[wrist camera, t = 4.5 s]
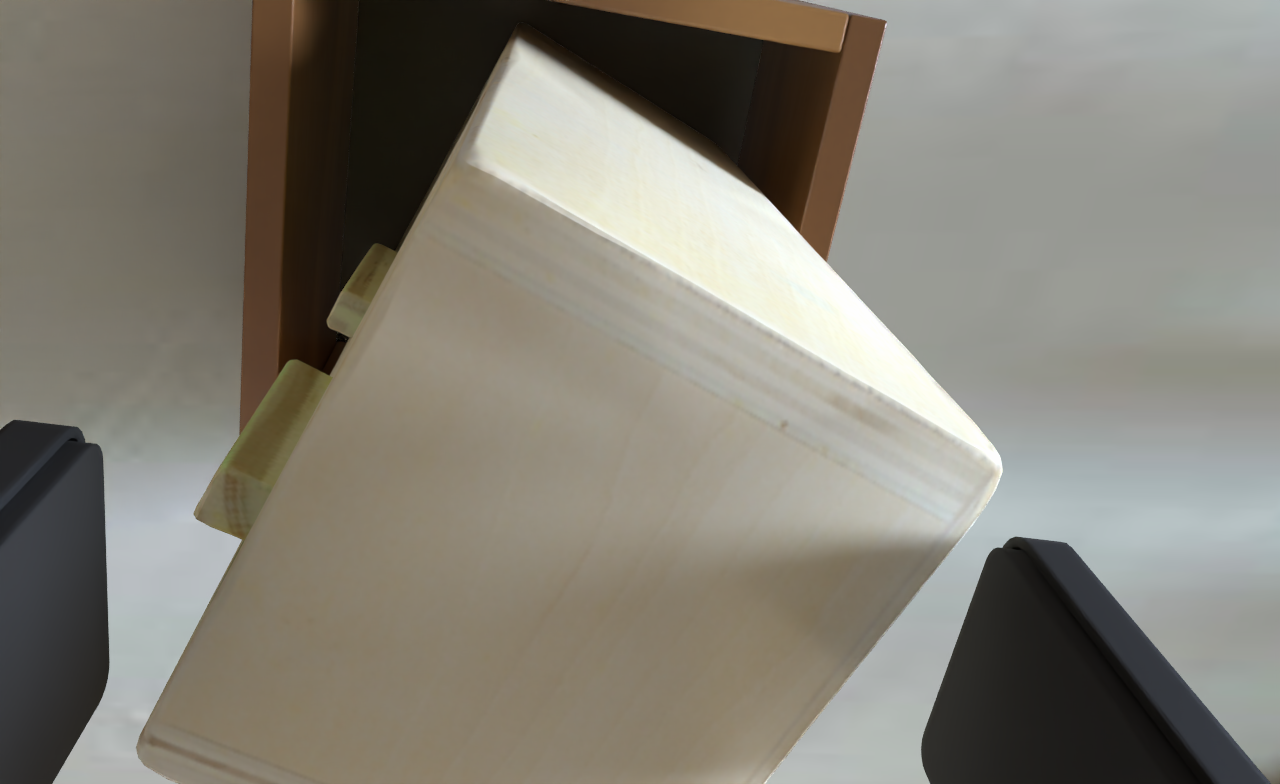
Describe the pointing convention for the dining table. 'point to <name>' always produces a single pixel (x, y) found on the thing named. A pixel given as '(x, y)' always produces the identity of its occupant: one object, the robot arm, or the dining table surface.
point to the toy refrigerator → (569, 479)
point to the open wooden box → (730, 3)
